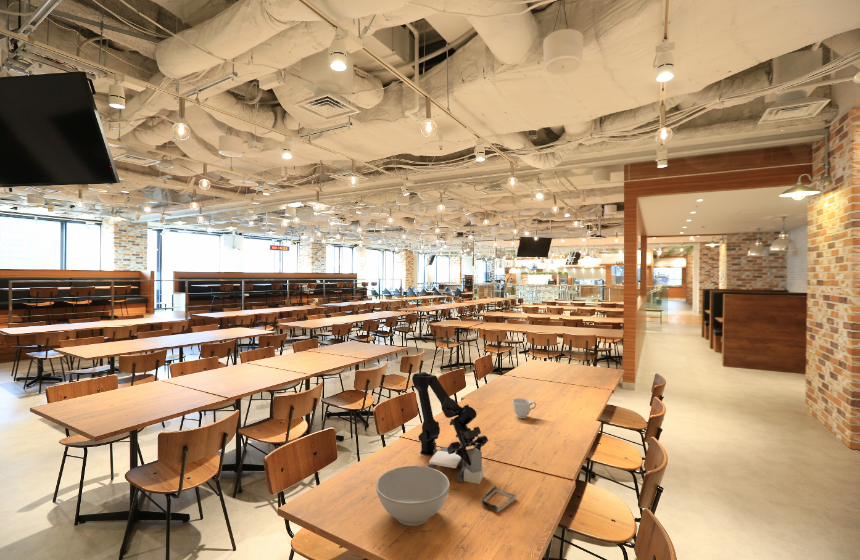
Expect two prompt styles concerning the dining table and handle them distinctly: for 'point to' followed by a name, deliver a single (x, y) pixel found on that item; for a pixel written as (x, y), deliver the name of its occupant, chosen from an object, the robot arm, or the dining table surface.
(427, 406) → the robot arm
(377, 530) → the dining table surface
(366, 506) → the dining table surface
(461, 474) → the frame
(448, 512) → the dining table surface
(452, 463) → the trapdoor
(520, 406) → the teacup
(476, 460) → the stone
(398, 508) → the decorative bowl
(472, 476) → the light grey block
